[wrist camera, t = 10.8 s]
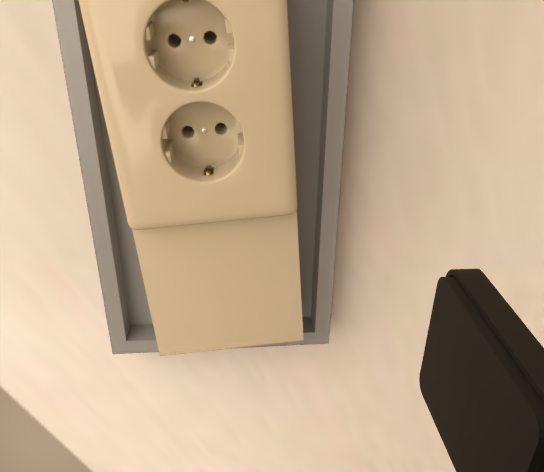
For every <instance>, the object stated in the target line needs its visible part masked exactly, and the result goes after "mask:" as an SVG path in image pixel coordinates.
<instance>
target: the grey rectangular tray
mask: <svg viewBox="0 0 544 472" xmlns="http://www.w3.org/2000/svg"><path fill="white" fill-rule="evenodd" d="M52 2H53V8H54V14H55V20H56V25H57V31H58V37H59V43H60V49H61V55H62V60H63V66H64V72H65V78H66V84H67V90H68V96H69V101H70V107H71V113H72V119H73V125H74V131H75V136H76V142H77V148H78V154H79V160H80V166H81V171H82V177H83V183H84V189H85V195H86V201H87V207H88V212H89V218H90V224H91V230H92V236H93V242H94V247H95V253H96V259H97V265H98V271H99V277H100V283H101V288H102V294H103V300H104V306H105V312H106V318H107V323H108V329H109V335H110V341H111V347H112V353H113V354H125V353H145V352H159V349H158V345H157V340H156V336H155V331H154V326H153V322H152V317H151V313H150V308H149V304H148V299H147V294H146V290H145V285H144V281H143V276H142V272H141V267H140V262H139V258H138V253H137V249H136V244H135V240H134V235H133V231H132V228H131V227H130V226H129V224H128V221H127V216H126V212H125V207H124V203H123V198H122V194H121V189H120V185H119V180H118V176H117V171H116V167H115V162H114V158H113V153H112V149H111V144H110V140H109V135H108V131H107V126H106V122H105V117H104V113H103V108H102V104H101V99H100V95H99V90H98V86H97V81H96V77H95V72H94V68H93V63H92V59H91V54H90V50H89V45H88V41H87V36H86V32H85V27H84V23H83V18H82V14H81V9H80V5H79V0H52ZM353 2H354V0H287V7H288V27H289V46H290V66H291V85H292V105H293V124H294V144H295V163H296V183H297V202H298V207H297V225H298V244H299V263H300V282H301V301H302V321H303V340H300V341H291V342H282V343H273V344H264V345H255V346H246V347H266V346H286V345H306V344H326V343H329V333H330V319H331V306H332V292H333V278H334V264H335V250H336V236H337V223H338V209H339V195H340V181H341V167H342V154H343V140H344V126H345V112H346V98H347V85H348V71H349V57H350V43H351V29H352V16H353ZM246 347H237V348H246Z"/></svg>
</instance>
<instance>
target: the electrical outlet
mask: <svg viewBox="0 0 544 472" xmlns="http://www.w3.org/2000/svg"><path fill="white" fill-rule="evenodd" d="M79 5H80V9H81V14H82V18H83V23H84V27H85V32H86V36H87V41H88V45H89V50H90V54H91V59H92V63H93V68H94V72H95V77H96V81H97V86H98V90H99V95H100V99H101V104H102V108H103V113H104V117H105V122H106V126H107V131H108V135H109V140H110V144H111V149H112V153H113V158H114V162H115V167H116V171H117V176H118V180H119V185H120V189H121V194H122V198H123V203H124V207H125V212H126V216H127V221H128V224H129V226H130V227H131V228H132V231H133V235H134V240H135V244H136V249H137V253H138V258H139V262H140V267H141V272H142V276H143V281H144V285H145V290H146V294H147V299H148V304H149V308H150V313H151V317H152V322H153V326H154V331H155V336H156V340H157V345H158V349H159V354H160V356H164V355H173V354H182V353H191V352H200V351H209V350H218V349H228V348H237V347H246V346H255V345H264V344H273V343H282V342H291V341H300V340H303V321H302V301H301V282H300V263H299V244H298V225H297V207H298V202H297V183H296V163H295V144H294V124H293V105H292V85H291V66H290V46H289V27H288V7H287V0H79Z"/></svg>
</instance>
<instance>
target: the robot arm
mask: <svg viewBox="0 0 544 472" xmlns="http://www.w3.org/2000/svg"><path fill="white" fill-rule="evenodd" d="M420 388H421V392H422V395H423V397H424V400H425V402H426V404H427V406H428V409H429V411H430V413H431V415H432V418H433V420H434V422H435V425H436V427H437V429H438V431H439V434H440V436H441V438H442V440H443V443H444V445H445V447H446V449H447V452H448V454H449V456H450V458H451V461H452V463H453V465H454V467H455V470H456V472H544V348H543V347H542V346H541V344H540V343H539V342H538V341H537V339H536V338H535V337H534V336H533V334H532V333H531V332H530V331H529V329H528V328H527V327H526V326H525V324H524V323H523V322H522V321H521V319H520V318H519V317H518V316H517V314H516V313H515V312H514V311H513V309H512V308H511V307H510V306H509V304H508V303H507V302H506V301H505V299H504V298H503V297H502V296H501V294H500V293H499V292H498V291H497V289H496V288H495V287H494V286H493V284H492V283H491V282H490V281H489V279H488V278H487V277H486V276H485V274H484V273H483V272H482V271H481V270H480V269H455V270H450V271H448V273H447V275H446V277H441V278H440V279H439V280H438V283H437V288H436V293H435V299H434V304H433V309H432V314H431V320H430V325H429V330H428V335H427V340H426V346H425V351H424V356H423V361H422V366H421V372H420Z"/></svg>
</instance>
